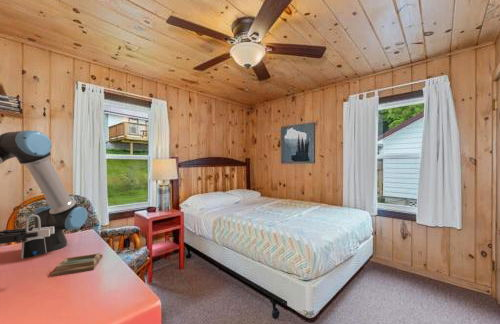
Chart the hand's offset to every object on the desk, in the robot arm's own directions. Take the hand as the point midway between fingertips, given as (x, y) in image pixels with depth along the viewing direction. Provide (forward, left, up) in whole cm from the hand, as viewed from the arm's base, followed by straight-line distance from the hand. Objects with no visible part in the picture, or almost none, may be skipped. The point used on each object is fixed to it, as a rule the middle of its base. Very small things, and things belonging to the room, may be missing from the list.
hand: (51, 231), depth 88 cm
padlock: (0, -5, -8) cm, 10 cm away
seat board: (-11, +6, -18) cm, 22 cm away
